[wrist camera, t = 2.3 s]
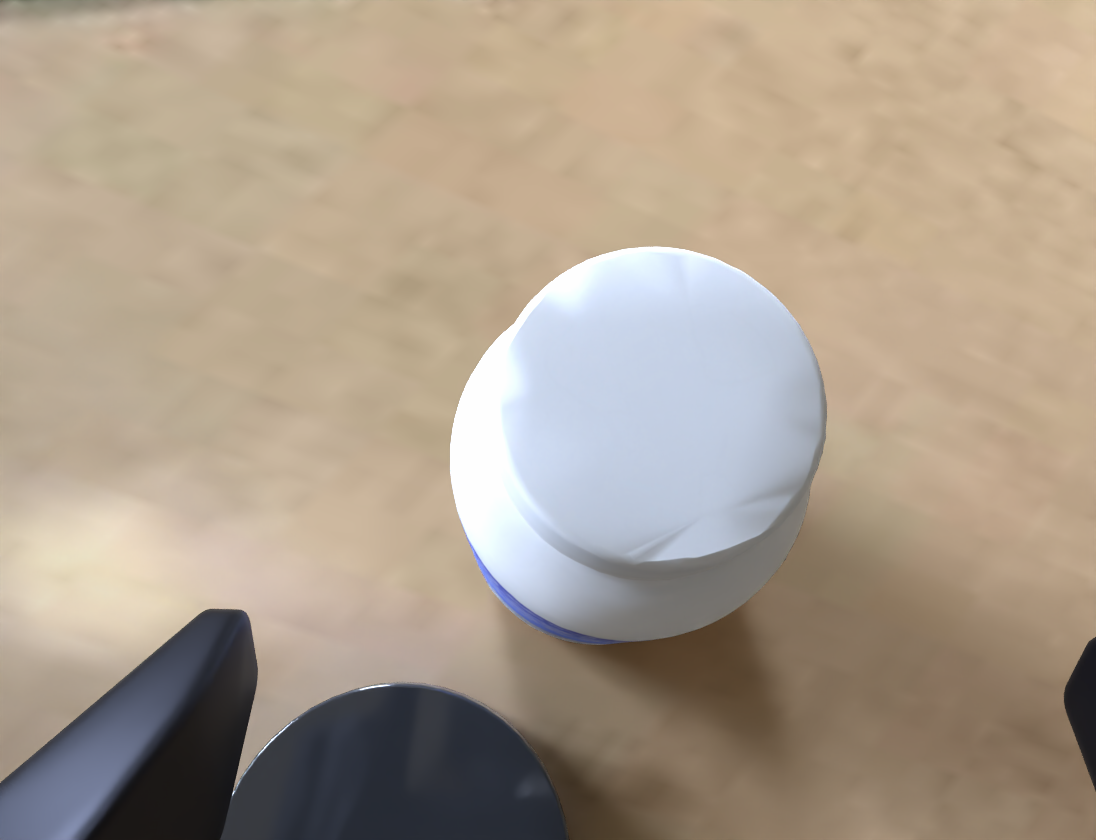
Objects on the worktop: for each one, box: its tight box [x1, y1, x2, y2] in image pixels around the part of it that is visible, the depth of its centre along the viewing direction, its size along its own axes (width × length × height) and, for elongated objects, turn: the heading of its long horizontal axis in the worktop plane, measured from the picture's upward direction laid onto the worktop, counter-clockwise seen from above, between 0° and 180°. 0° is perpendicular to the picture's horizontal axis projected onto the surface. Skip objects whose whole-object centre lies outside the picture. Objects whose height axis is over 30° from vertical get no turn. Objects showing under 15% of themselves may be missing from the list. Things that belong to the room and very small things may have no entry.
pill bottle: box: [450, 247, 827, 645], centre depth 15 cm, size 5×5×10 cm
